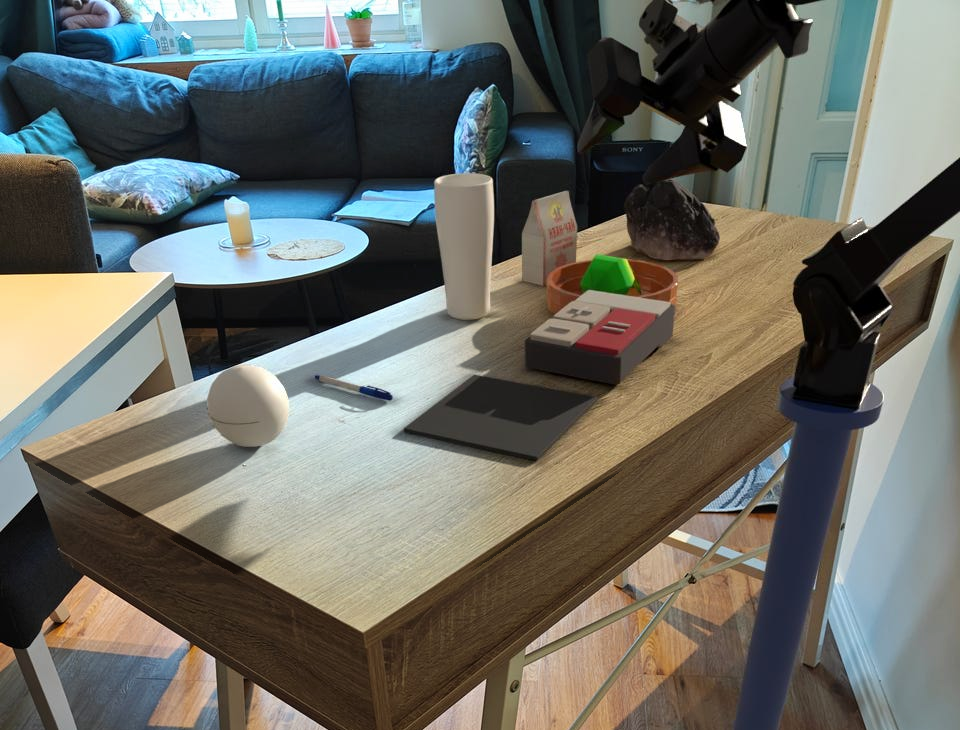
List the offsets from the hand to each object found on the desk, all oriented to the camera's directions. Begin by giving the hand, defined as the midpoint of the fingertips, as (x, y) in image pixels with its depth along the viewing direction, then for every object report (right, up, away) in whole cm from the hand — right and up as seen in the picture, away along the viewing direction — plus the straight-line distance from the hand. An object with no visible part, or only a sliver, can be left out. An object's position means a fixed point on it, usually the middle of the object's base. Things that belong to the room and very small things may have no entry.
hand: (612, 165), depth 94 cm
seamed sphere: (-36, -32, -10) cm, 49 cm away
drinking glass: (-15, -10, +16) cm, 24 cm away
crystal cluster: (+14, +6, +34) cm, 37 cm away
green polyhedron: (+2, -9, +16) cm, 18 cm away
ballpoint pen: (-27, -24, -1) cm, 36 cm away
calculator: (-1, -19, +4) cm, 19 cm away
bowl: (+2, -9, +16) cm, 18 cm away
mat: (-12, -28, -7) cm, 31 cm away
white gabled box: (-5, -1, +26) cm, 27 cm away
